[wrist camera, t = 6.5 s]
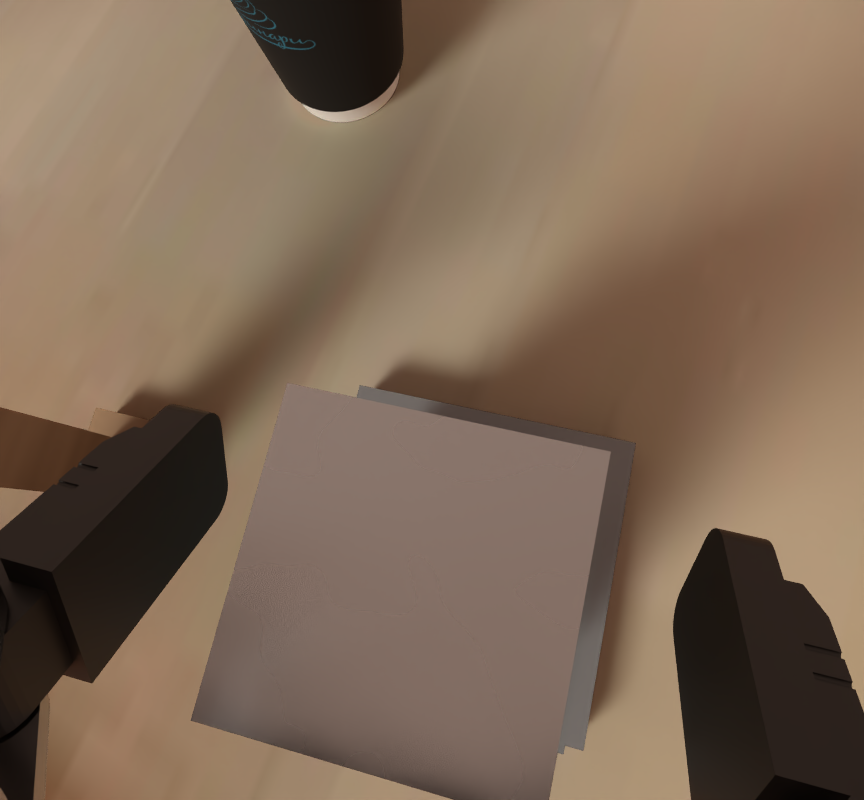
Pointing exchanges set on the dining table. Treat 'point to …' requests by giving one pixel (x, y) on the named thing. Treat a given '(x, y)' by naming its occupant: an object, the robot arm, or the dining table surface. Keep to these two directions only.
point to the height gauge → (51, 446)
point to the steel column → (408, 597)
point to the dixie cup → (331, 51)
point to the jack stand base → (602, 552)
